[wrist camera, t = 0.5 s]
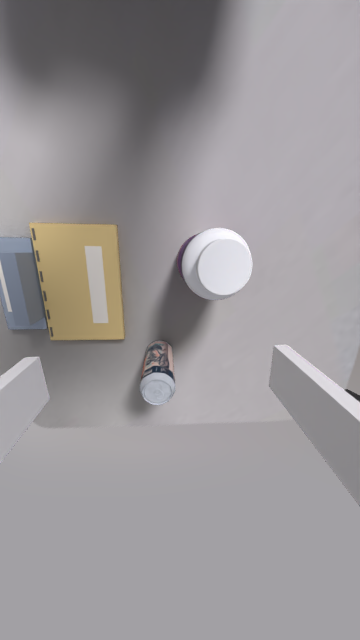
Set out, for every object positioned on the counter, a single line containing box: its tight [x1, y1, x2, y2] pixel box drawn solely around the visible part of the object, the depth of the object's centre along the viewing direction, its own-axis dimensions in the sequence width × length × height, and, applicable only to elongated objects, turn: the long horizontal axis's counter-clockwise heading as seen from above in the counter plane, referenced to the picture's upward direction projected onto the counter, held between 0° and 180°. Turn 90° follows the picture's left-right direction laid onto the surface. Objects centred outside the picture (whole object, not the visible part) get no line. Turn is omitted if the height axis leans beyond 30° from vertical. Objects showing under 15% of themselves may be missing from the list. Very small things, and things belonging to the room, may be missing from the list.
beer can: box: [140, 341, 175, 405], centre depth 34 cm, size 5×5×12 cm
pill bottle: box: [177, 228, 252, 300], centre depth 28 cm, size 8×8×14 cm
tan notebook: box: [29, 223, 125, 340], centre depth 35 cm, size 18×12×1 cm, turn 179°
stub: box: [0, 237, 48, 329], centre depth 32 cm, size 14×6×5 cm, turn 179°
